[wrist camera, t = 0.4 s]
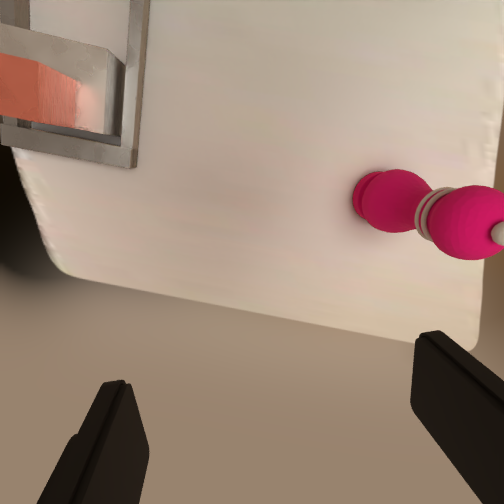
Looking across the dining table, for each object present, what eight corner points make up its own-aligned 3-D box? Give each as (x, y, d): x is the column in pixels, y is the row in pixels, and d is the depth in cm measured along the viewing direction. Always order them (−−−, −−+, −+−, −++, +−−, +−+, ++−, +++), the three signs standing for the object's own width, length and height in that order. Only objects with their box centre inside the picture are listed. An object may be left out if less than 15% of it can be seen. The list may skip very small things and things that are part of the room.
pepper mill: (357, 162, 38) (495, 173, 19) (409, 173, 39) (587, 193, 20) (341, 218, 40) (452, 278, 21) (391, 227, 41) (537, 291, 22)
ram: (33, 44, 31) (-75, -18, 19) (126, 67, 32) (77, 21, 21) (34, 119, 33) (-63, 102, 21) (122, 137, 34) (74, 129, 23)
